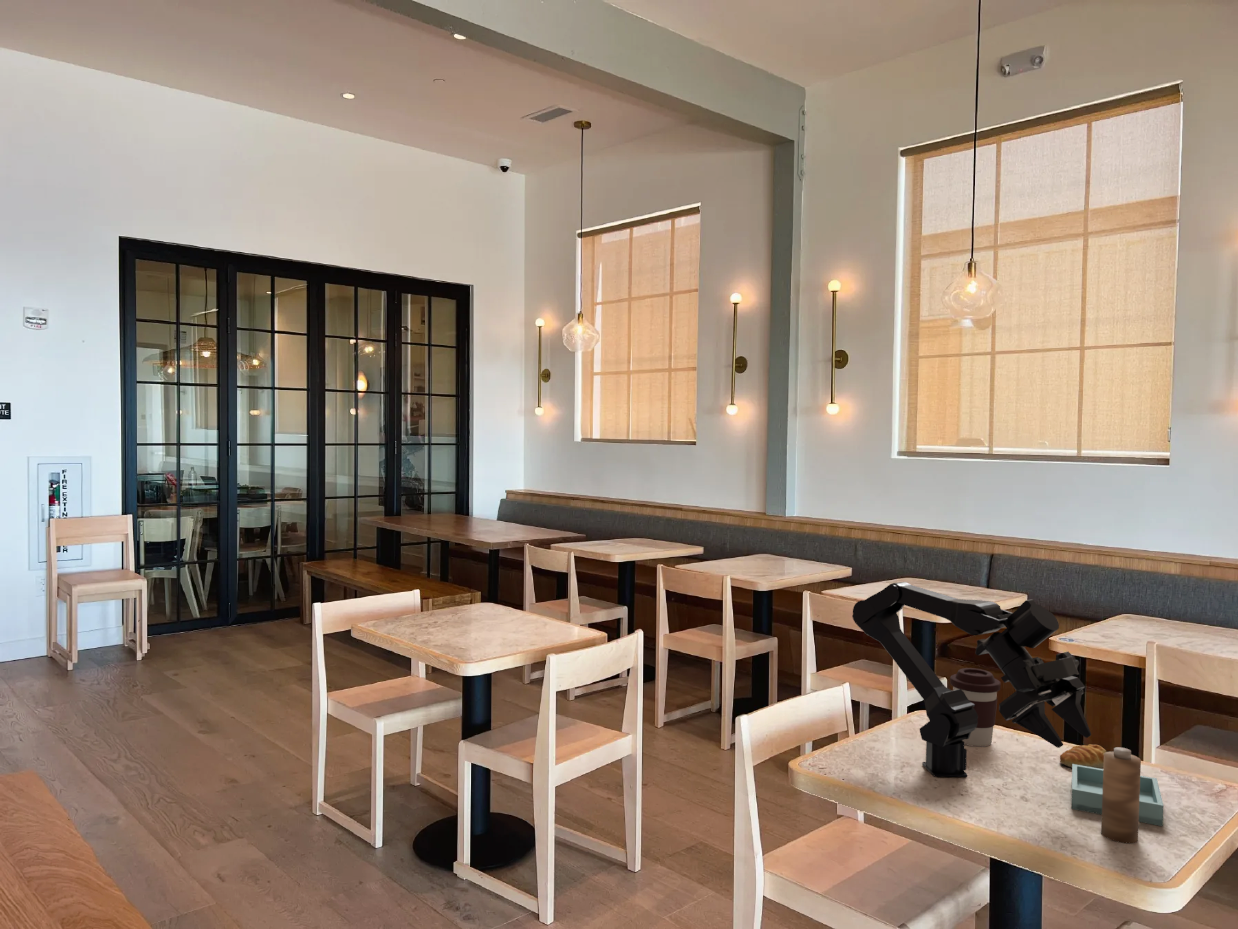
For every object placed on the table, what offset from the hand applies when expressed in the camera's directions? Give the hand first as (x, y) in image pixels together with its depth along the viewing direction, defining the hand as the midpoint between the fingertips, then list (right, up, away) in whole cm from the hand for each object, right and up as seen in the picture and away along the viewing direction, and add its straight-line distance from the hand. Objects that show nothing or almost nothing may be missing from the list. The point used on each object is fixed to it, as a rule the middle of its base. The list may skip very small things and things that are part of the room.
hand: (1075, 741), depth 147 cm
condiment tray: (+11, -13, +7) cm, 19 cm away
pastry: (+16, -13, +26) cm, 33 cm away
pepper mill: (+4, -14, -6) cm, 15 cm away
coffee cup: (-2, -12, +38) cm, 40 cm away
